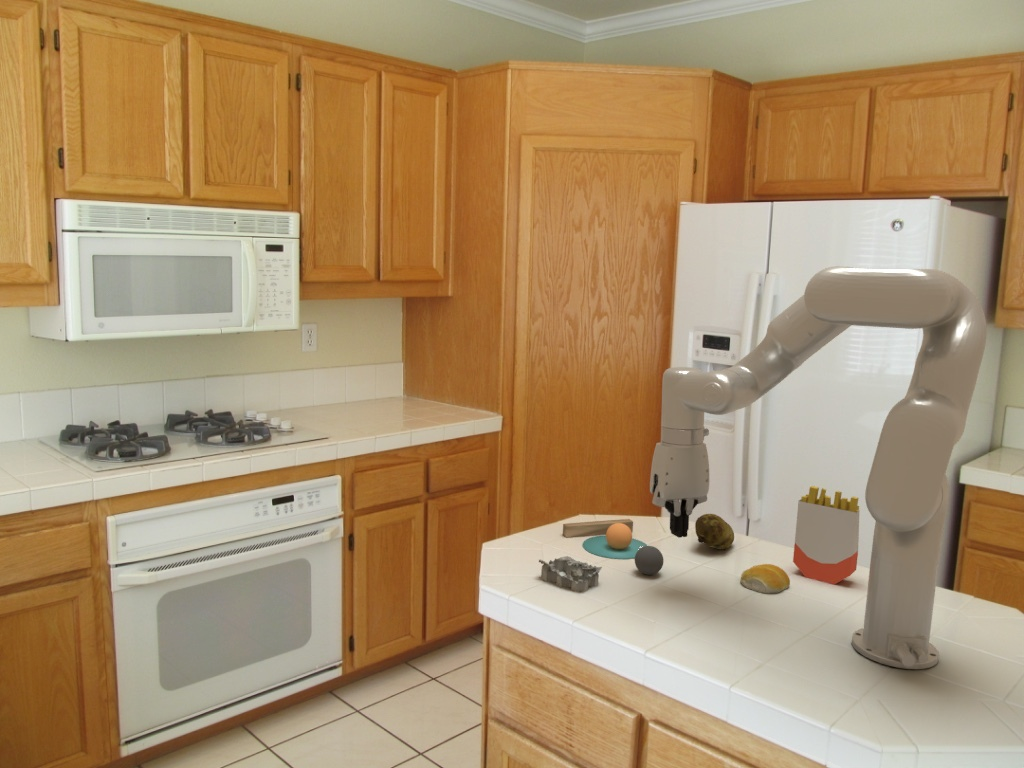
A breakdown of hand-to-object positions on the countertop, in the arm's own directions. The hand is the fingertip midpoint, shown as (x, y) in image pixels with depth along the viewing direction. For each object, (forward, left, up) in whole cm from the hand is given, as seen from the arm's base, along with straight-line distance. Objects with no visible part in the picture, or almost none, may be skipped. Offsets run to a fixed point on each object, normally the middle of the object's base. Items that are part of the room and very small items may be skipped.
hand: (678, 534), depth 154 cm
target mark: (+21, +10, -11) cm, 26 cm away
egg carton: (+1, +19, -11) cm, 22 cm away
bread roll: (+6, -17, -11) cm, 21 cm away
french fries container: (+12, -30, -11) cm, 34 cm away
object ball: (+20, +10, -8) cm, 24 cm away
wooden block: (+30, +14, -11) cm, 34 cm away
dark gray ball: (+7, +4, -8) cm, 12 cm away
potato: (+25, -11, -11) cm, 29 cm away
